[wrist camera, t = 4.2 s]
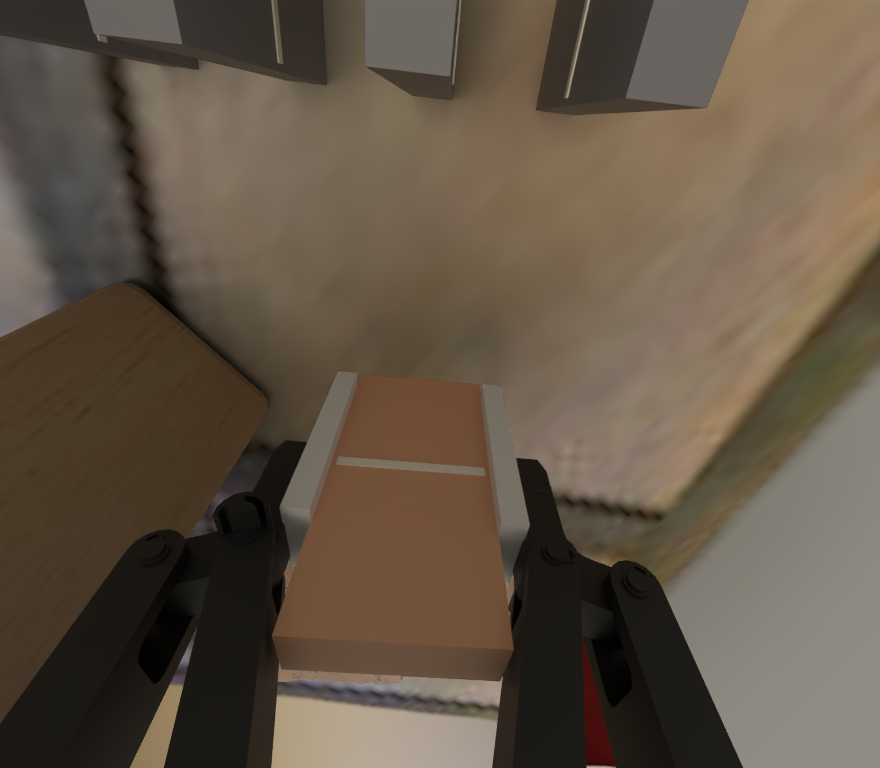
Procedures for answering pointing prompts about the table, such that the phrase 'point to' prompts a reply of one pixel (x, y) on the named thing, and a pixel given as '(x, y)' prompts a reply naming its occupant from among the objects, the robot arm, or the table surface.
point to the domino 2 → (224, 32)
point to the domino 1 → (75, 31)
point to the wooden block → (102, 455)
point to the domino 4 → (636, 54)
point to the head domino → (402, 544)
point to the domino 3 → (414, 44)
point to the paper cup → (594, 722)
